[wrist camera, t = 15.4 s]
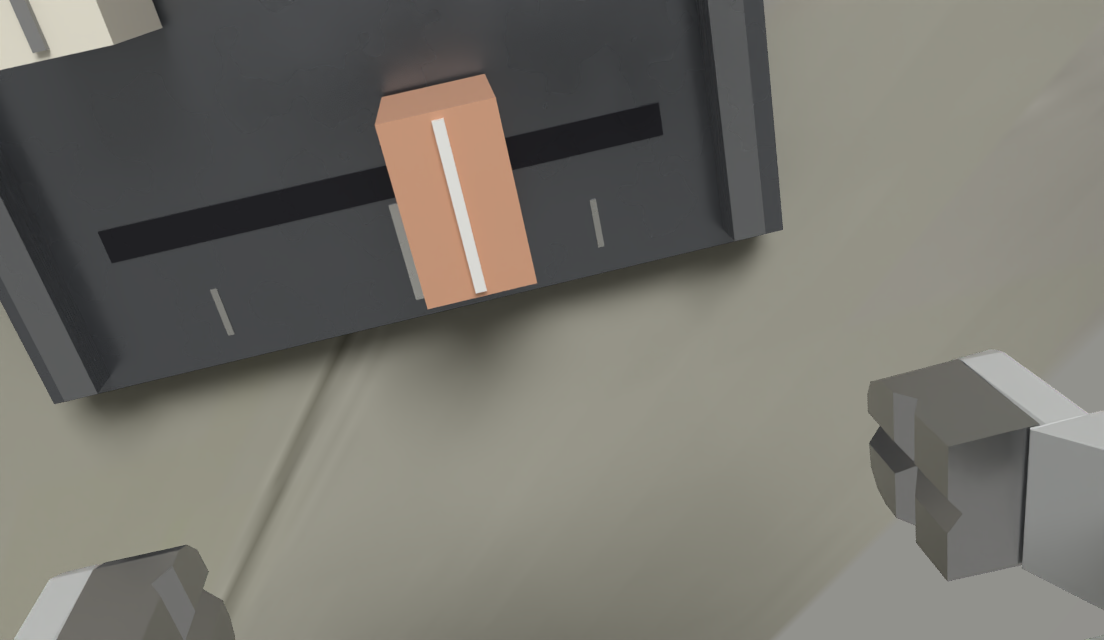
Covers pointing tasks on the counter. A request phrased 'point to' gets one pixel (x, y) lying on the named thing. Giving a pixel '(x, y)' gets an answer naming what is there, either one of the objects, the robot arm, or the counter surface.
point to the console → (352, 166)
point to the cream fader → (68, 27)
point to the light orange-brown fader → (455, 190)
